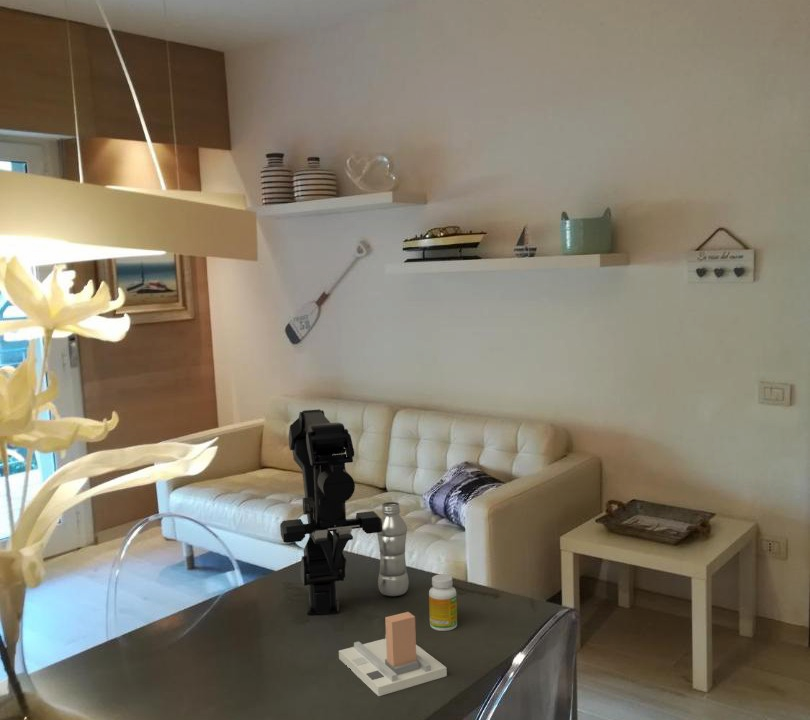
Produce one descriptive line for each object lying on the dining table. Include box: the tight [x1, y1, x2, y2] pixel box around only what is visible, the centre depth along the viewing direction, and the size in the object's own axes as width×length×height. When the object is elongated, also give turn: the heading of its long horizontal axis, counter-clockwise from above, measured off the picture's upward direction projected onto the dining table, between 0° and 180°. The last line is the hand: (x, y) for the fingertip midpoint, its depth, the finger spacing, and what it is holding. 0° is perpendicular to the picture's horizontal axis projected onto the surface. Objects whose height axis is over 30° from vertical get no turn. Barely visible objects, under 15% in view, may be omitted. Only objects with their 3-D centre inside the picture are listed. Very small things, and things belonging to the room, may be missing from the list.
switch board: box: [338, 633, 448, 697], centre depth 142 cm, size 16×13×2 cm
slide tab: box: [384, 611, 419, 675], centre depth 138 cm, size 4×4×9 cm
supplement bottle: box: [428, 573, 458, 632], centre depth 158 cm, size 5×5×10 cm
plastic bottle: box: [376, 501, 410, 597], centre depth 175 cm, size 6×7×20 cm
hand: (333, 570), depth 155 cm, fingers closed
